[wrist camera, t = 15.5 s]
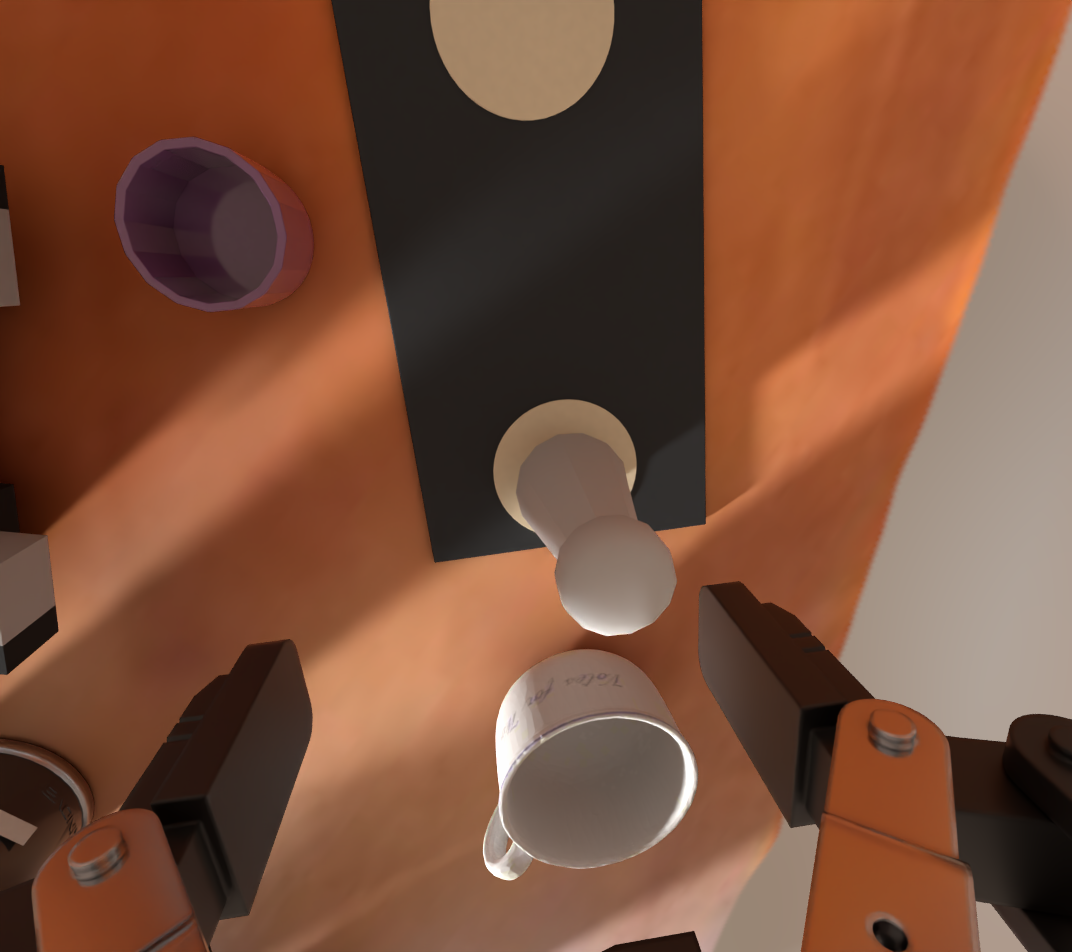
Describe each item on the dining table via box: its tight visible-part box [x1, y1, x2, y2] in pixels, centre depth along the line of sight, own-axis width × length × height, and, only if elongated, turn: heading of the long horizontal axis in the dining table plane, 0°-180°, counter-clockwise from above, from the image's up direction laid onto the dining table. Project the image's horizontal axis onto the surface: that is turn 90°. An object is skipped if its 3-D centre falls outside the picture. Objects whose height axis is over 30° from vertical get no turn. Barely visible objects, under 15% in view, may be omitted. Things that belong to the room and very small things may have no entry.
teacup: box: [483, 649, 698, 880], centre depth 34 cm, size 14×11×8 cm
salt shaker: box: [516, 433, 677, 636], centre depth 26 cm, size 6×6×13 cm
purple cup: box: [114, 137, 314, 312], centre depth 25 cm, size 6×6×4 cm
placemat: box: [331, 0, 706, 563], centre depth 29 cm, size 16×30×1 cm, turn 6°
